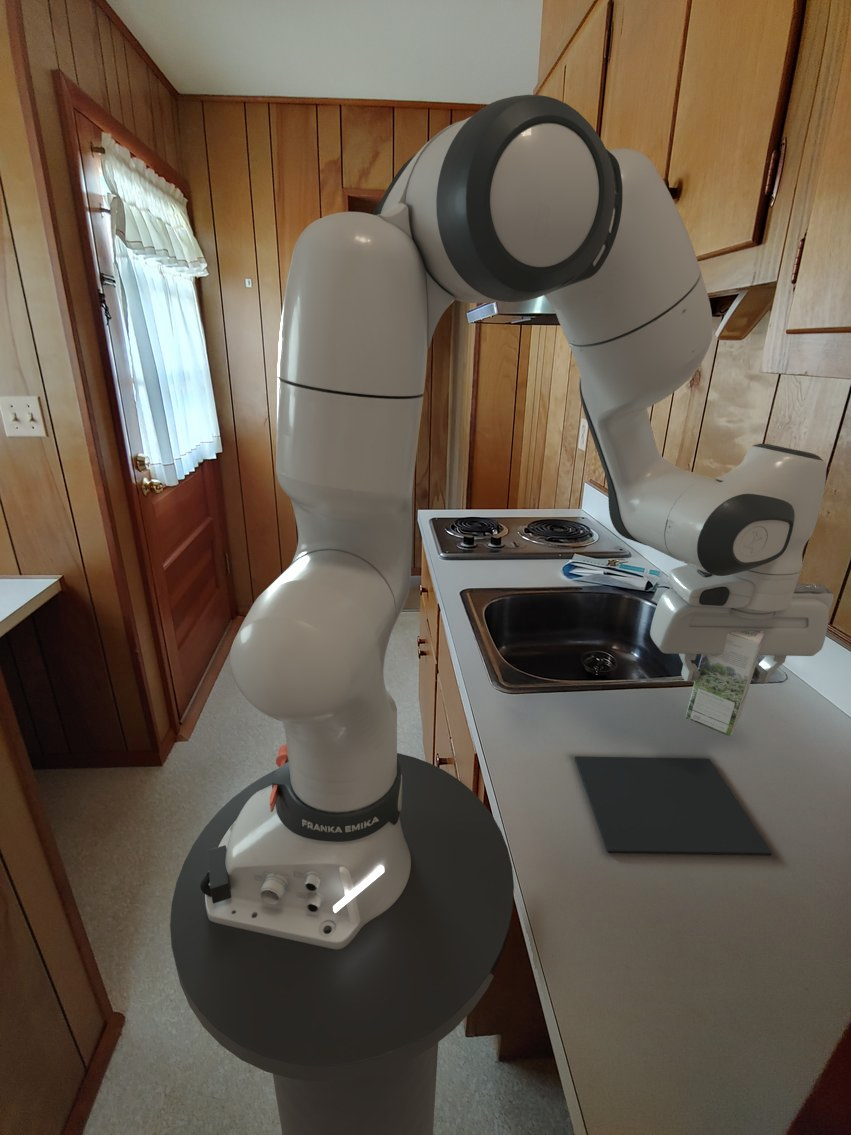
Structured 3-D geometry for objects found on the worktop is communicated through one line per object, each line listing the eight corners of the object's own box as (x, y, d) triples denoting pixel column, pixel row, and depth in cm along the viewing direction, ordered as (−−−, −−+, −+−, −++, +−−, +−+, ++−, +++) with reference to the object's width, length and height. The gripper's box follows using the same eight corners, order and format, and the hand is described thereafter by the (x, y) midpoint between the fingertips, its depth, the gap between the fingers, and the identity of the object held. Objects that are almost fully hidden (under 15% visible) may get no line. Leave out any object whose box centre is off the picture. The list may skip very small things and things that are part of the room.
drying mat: (607, 852, 67) (608, 850, 67) (574, 758, 81) (574, 756, 81) (771, 855, 67) (772, 852, 67) (708, 760, 82) (709, 758, 81)
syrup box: (741, 716, 74) (770, 622, 68) (730, 739, 70) (760, 640, 64) (696, 699, 77) (721, 607, 72) (683, 719, 73) (708, 623, 67)
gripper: (820, 573, 68) (788, 667, 74) (656, 570, 68) (637, 664, 74) (856, 595, 63) (819, 695, 68) (678, 592, 62) (655, 692, 68)
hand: (723, 679), depth 71 cm, fingers closed on syrup box, 7 cm apart
